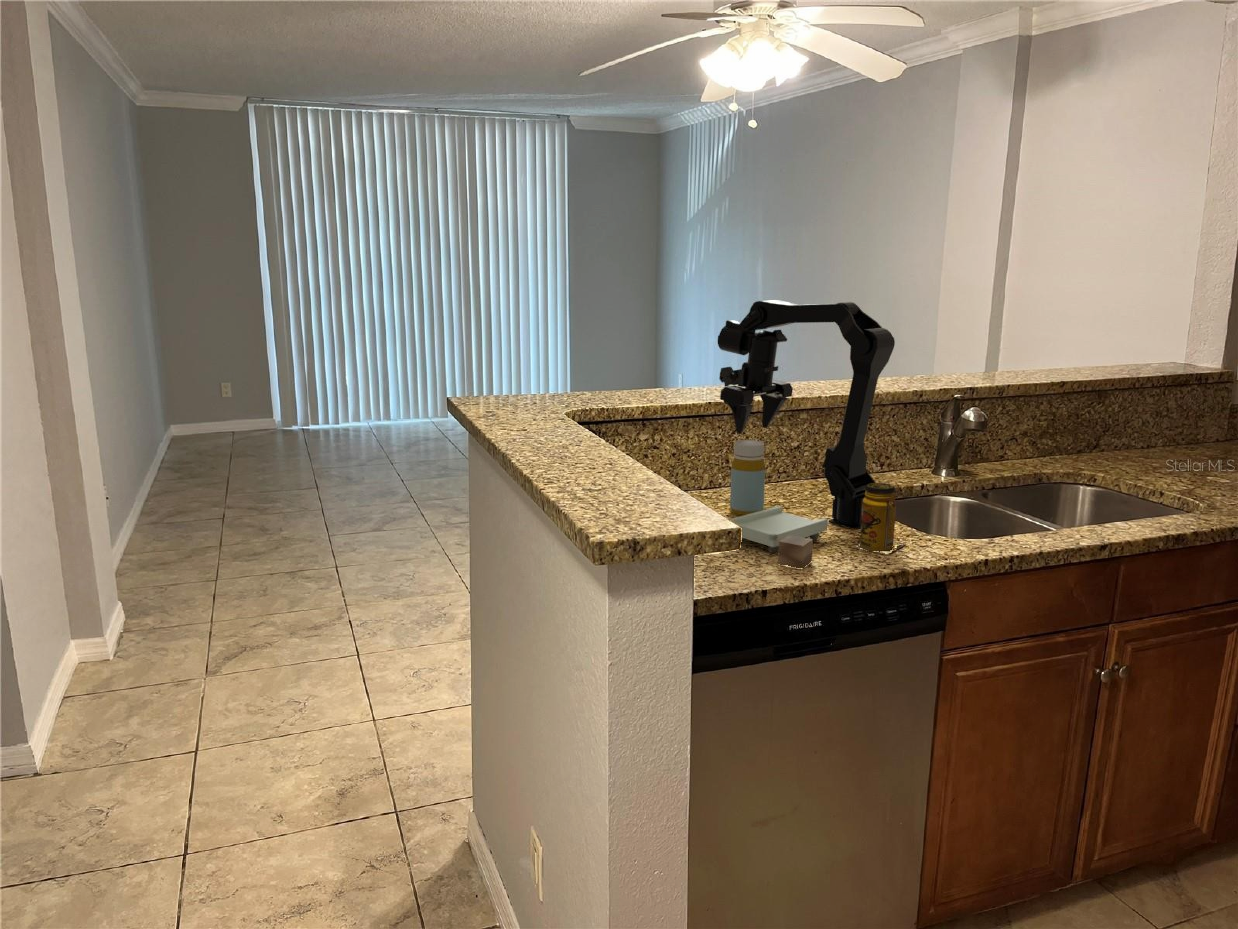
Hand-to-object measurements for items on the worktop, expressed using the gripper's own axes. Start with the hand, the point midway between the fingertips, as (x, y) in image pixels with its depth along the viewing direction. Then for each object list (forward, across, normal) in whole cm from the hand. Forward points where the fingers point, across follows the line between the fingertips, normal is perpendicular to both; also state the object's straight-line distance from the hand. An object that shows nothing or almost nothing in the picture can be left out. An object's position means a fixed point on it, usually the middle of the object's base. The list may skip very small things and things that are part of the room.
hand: (752, 430), depth 201 cm
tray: (+13, +20, +22) cm, 33 cm away
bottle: (+15, +8, +7) cm, 19 cm away
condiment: (+12, +9, +38) cm, 41 cm away
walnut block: (+12, +28, +33) cm, 45 cm away
